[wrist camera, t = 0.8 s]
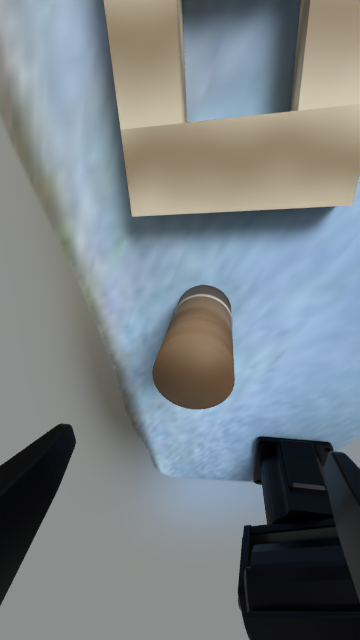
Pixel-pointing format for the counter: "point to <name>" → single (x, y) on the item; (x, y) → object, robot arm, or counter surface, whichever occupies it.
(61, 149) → the counter surface
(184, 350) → the peg
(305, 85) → the board
